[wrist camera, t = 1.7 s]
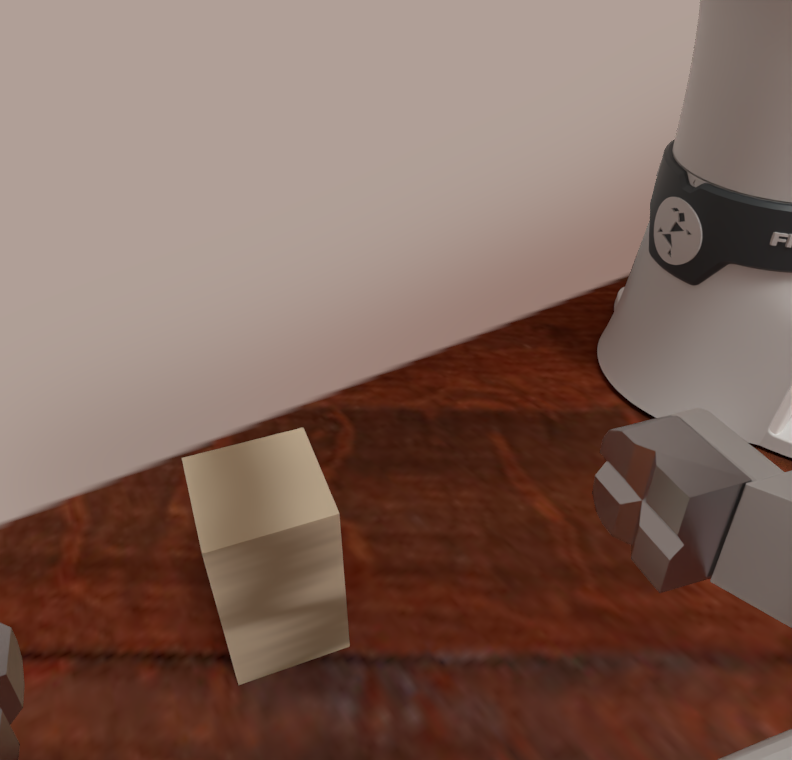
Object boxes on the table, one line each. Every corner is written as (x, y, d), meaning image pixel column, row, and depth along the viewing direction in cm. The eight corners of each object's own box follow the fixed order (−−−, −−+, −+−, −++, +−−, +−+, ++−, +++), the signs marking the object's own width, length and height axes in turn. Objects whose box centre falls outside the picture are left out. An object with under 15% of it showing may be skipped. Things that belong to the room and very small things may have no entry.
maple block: (318, 560, 35) (303, 427, 30) (349, 646, 32) (339, 513, 26) (217, 591, 34) (181, 458, 28) (238, 685, 30) (201, 553, 24)
